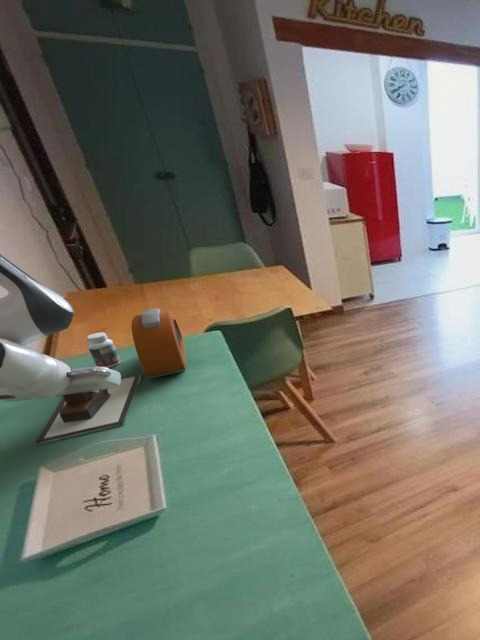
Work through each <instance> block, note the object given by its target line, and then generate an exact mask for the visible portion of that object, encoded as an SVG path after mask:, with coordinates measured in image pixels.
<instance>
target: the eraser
mask: <svg viewBox="0 0 480 640" xmlns="http://www.w3.org/2000/svg"><path fill="white" fill-rule="evenodd" d="M63 397H64V399H65V401H66V404H65V405H64V406H63V407H62V408H61V409H60V410H59V412H60V416H61V418H62V420H63V422H64V423H65V422H72V421H78V420H85V419H91V418H92V417H93V416H94V415H95V414H96V413H97V412H98V410H99V409H100V408H101V407H102V406H103V404H104V403H105V402H106V401H107V400H108V398H109V397H110V395H109V393H108V391H107V389H102V390H99V393H92V394H91V393H88V392H81V393H73V394H66V395H63ZM63 397H62V398H63Z"/></svg>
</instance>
